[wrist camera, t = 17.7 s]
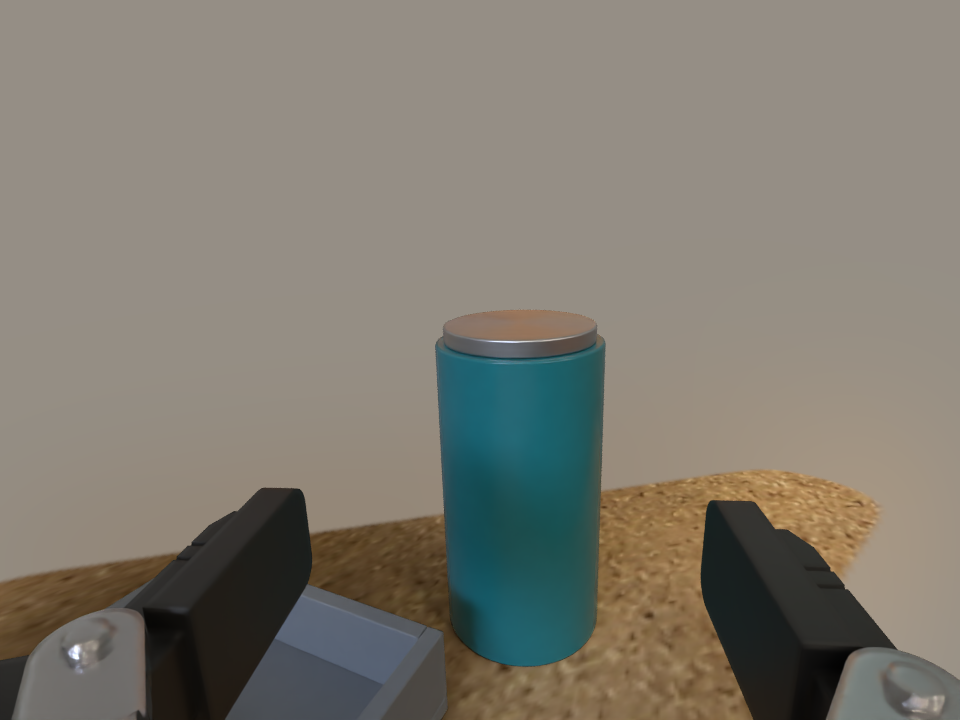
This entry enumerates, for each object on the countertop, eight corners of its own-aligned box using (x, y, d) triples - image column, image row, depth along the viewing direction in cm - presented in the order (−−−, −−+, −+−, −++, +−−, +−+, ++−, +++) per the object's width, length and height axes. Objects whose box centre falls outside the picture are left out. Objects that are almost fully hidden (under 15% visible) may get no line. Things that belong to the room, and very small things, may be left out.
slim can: (421, 636, 21) (400, 334, 18) (487, 550, 26) (480, 305, 23) (571, 691, 18) (577, 349, 15) (611, 584, 24) (622, 312, 20)
